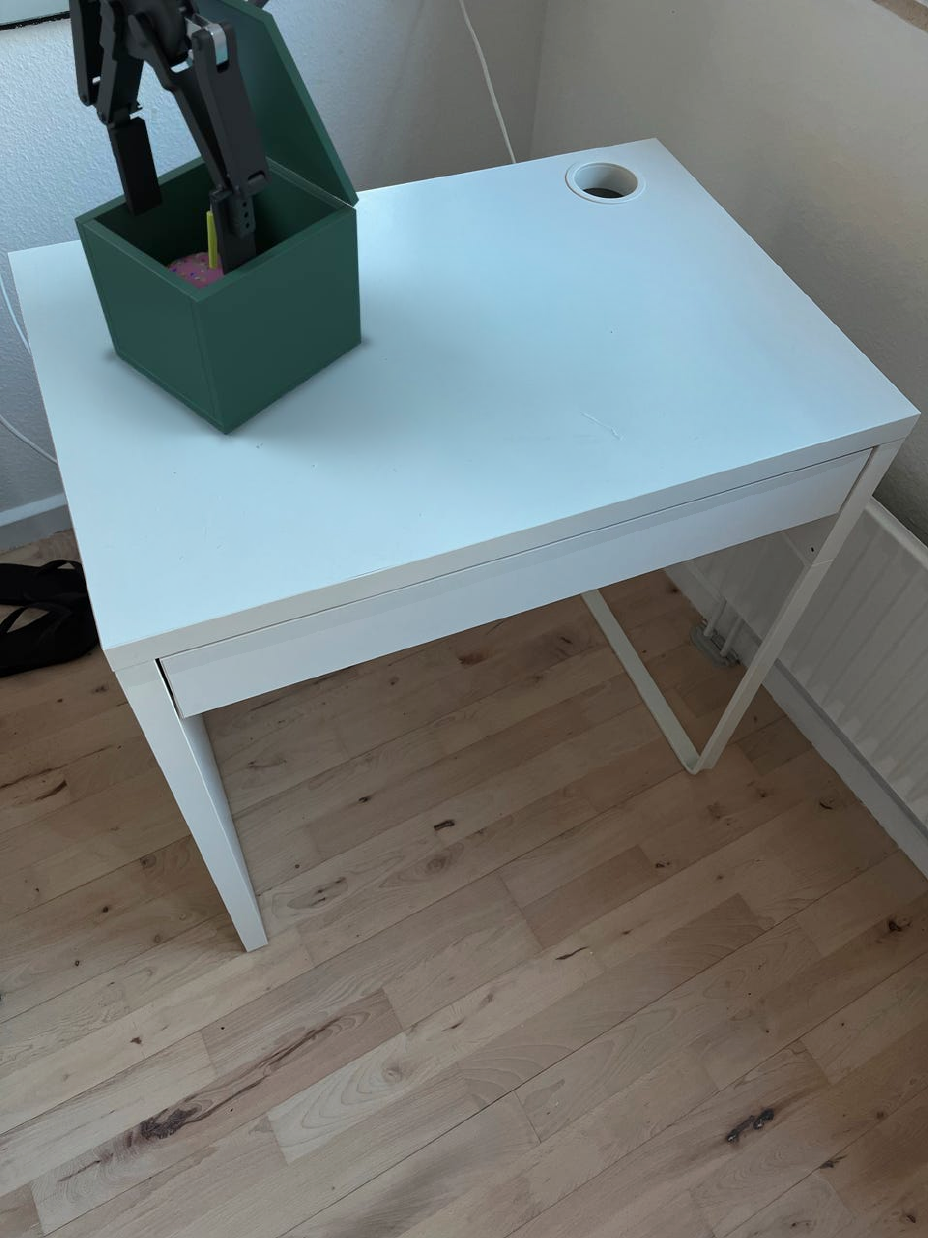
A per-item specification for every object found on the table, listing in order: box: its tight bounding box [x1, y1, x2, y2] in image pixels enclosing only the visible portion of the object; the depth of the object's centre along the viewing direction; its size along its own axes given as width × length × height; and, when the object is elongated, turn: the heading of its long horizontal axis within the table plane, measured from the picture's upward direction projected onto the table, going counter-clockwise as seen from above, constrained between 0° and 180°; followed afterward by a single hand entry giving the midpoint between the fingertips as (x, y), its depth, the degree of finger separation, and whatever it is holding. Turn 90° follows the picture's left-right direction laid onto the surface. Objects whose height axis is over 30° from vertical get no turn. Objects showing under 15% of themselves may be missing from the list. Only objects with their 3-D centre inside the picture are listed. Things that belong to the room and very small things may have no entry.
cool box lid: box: [185, 0, 360, 208], centre depth 68 cm, size 17×14×8 cm
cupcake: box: [166, 207, 225, 290], centre depth 74 cm, size 9×8×12 cm
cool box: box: [73, 155, 362, 435], centre depth 77 cm, size 16×14×13 cm
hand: (192, 237), depth 71 cm, fingers open, 10 cm apart
